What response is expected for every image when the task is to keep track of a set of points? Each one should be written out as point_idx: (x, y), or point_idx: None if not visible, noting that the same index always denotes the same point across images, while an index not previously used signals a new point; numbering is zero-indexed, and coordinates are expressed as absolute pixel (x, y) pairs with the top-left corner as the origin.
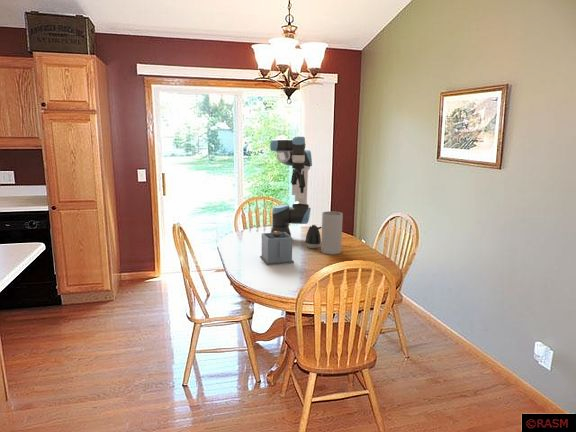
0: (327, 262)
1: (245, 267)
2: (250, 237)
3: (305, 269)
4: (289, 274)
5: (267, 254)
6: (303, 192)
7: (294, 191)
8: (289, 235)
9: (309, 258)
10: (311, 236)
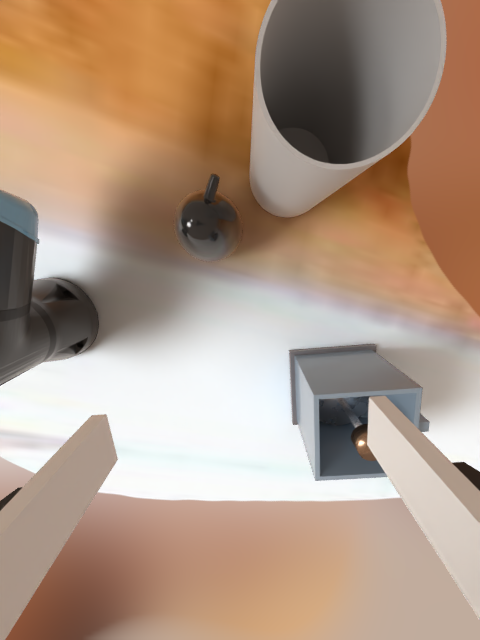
0: (404, 235)
1: None
2: (59, 415)
3: (444, 326)
4: (467, 378)
5: None
6: (439, 455)
7: (83, 473)
8: (381, 390)
9: (343, 283)
10: (232, 243)
